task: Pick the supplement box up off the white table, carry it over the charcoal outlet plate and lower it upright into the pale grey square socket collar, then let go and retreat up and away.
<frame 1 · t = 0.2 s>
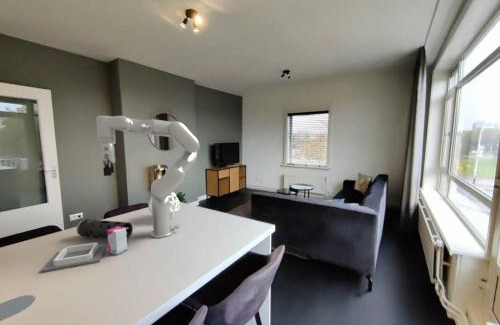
hand: (109, 174, 112), 36 cm above the table, tool pointing down, fingers open, 9 cm apart
muzzle brake: (105, 239, 119), on the table
socket plate: (77, 258, 100), on the table
supplement box: (118, 252, 105), on the table
decorative ball: (165, 218, 149), on the table
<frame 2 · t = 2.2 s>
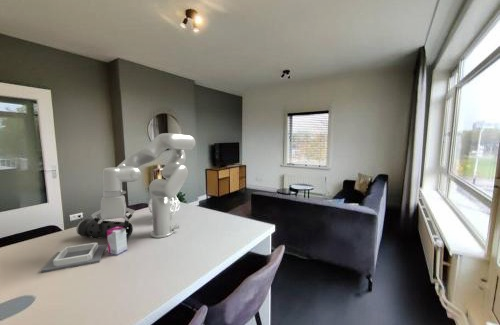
hand: (114, 229, 103), 11 cm above the table, tool pointing down, fingers open, 9 cm apart
supplement box: (118, 252, 105), on the table, touching gripper
everything else where it was.
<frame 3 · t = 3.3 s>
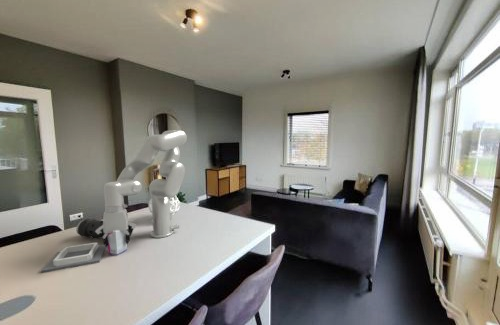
hand: (117, 243, 105), 4 cm above the table, tool pointing down, fingers closed on supplement box, 8 cm apart
supplement box: (118, 252, 105), on the table, touching gripper
everything else where it was.
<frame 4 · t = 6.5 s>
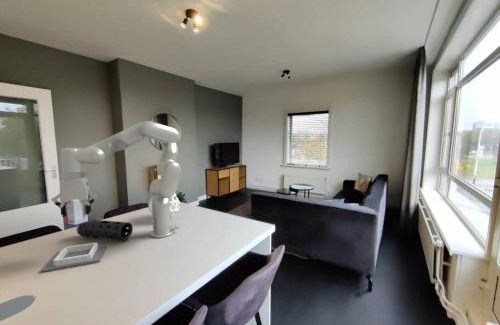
hand: (76, 214, 98), 20 cm above the table, tool pointing down, fingers closed on supplement box, 7 cm apart
supplement box: (77, 223, 98), point 16 cm above the table, touching gripper
everything else where it was.
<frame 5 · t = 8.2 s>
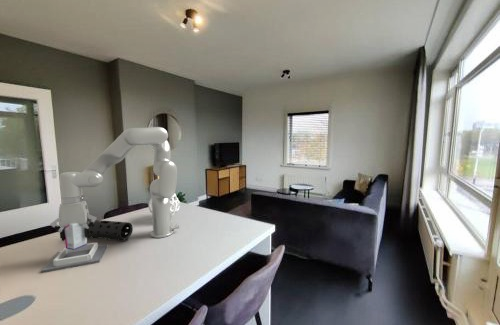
hand: (75, 237, 99), 10 cm above the table, tool pointing down, fingers closed on supplement box, 7 cm apart
supplement box: (76, 246, 99), point 5 cm above the table, touching gripper
everything else where it was.
when the fingers open (6 cm above the table, at t = 9.7 s): supplement box stays where it is, resting on socket plate.
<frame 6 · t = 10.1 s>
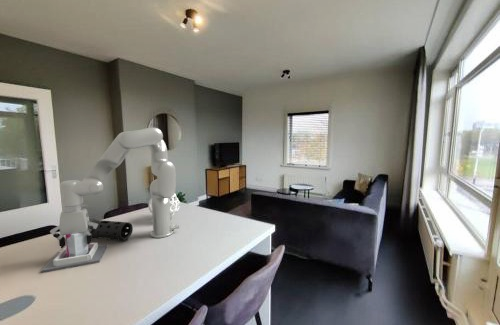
hand: (76, 244, 99), 6 cm above the table, tool pointing down, fingers open, 9 cm apart
supplement box: (78, 256, 100), point 1 cm above the table, touching socket plate
everything else where it was.
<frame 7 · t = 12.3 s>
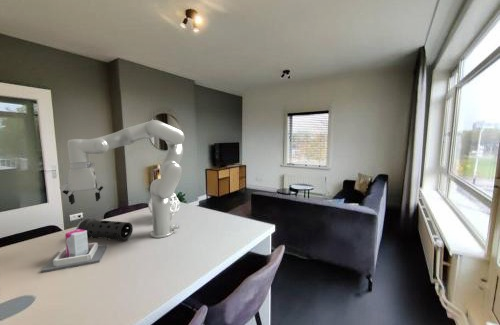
hand: (85, 202, 103), 25 cm above the table, tool pointing down, fingers open, 9 cm apart
nothing on the table moved.
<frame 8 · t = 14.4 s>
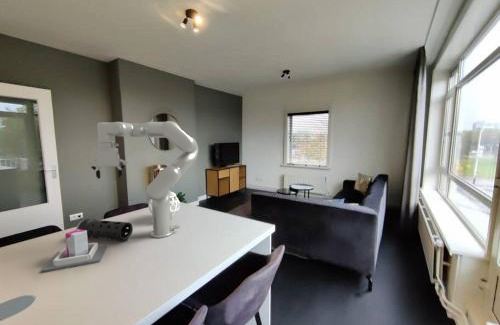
hand: (109, 177, 118), 33 cm above the table, tool pointing down, fingers open, 9 cm apart
nothing on the table moved.
at the end: supplement box 0.2 cm off-centre on the socket plate, point 0.8 cm above the socket plate's base; supplement box tilted 0°; the gripper is holding nothing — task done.
